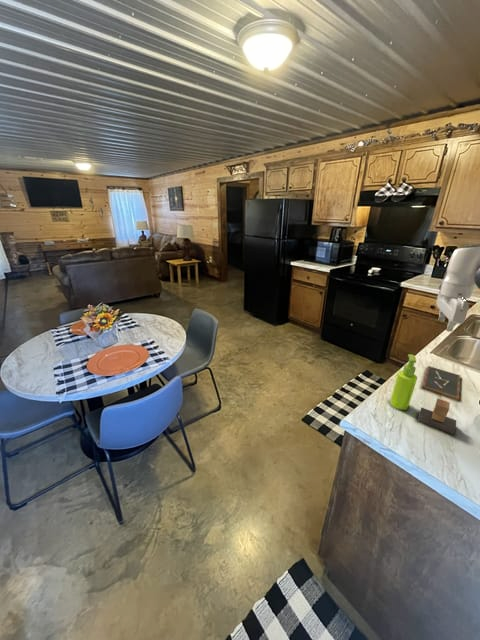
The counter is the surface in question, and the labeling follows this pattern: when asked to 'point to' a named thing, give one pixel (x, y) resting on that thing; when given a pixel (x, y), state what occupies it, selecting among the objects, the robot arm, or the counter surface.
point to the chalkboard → (442, 382)
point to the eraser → (438, 417)
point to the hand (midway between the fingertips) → (444, 325)
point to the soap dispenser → (404, 385)
